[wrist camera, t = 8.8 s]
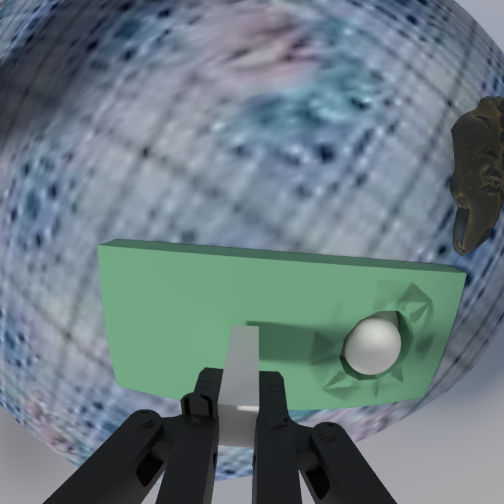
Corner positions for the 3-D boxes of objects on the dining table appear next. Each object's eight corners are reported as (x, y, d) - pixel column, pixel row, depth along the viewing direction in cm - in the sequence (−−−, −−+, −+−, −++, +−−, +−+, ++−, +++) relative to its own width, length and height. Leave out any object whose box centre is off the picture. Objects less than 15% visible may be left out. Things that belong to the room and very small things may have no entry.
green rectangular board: (129, 368, 20) (117, 385, 17) (116, 238, 17) (98, 245, 15) (412, 381, 19) (423, 396, 17) (448, 264, 17) (466, 273, 15)
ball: (340, 309, 17) (395, 314, 14) (364, 318, 19) (412, 322, 16) (326, 368, 16) (381, 381, 13) (354, 368, 18) (400, 377, 15)
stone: (420, 236, 17) (464, 252, 12) (447, 86, 14) (486, 68, 9) (472, 260, 17) (512, 278, 12) (496, 125, 15) (534, 118, 9)
